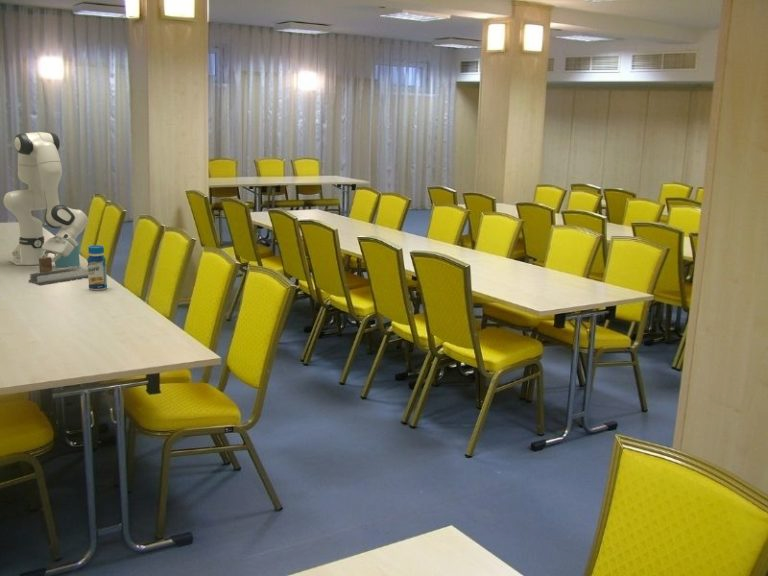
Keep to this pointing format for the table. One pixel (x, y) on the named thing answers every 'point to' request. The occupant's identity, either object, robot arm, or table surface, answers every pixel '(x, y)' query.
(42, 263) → the brown rectangular block
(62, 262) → the data package
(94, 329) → the table surface
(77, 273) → the rail
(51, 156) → the robot arm
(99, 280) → the beverage bottle
